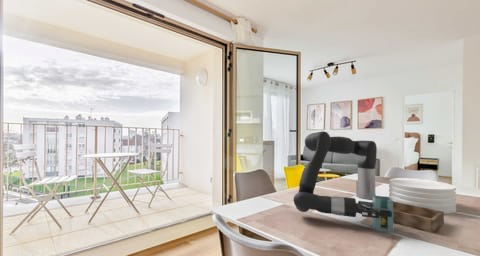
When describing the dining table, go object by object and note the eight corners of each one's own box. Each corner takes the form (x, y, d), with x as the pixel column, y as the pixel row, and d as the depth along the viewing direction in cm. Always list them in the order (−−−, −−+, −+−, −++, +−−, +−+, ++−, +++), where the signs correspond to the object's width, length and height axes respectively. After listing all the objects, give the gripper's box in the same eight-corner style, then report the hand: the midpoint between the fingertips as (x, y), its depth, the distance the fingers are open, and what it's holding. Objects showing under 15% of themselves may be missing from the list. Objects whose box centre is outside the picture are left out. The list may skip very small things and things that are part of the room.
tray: (367, 215, 107) (367, 204, 107) (381, 208, 117) (380, 198, 117) (434, 233, 89) (433, 220, 89) (443, 223, 99) (443, 211, 99)
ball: (376, 224, 93) (376, 216, 95) (380, 226, 95) (379, 218, 96) (385, 224, 91) (384, 216, 93) (388, 226, 93) (387, 218, 94)
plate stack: (471, 215, 109) (471, 190, 109) (403, 211, 114) (403, 187, 115) (434, 199, 136) (434, 179, 136) (381, 196, 142) (381, 177, 142)
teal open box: (375, 230, 91) (375, 199, 92) (372, 224, 97) (372, 195, 97) (393, 232, 89) (393, 200, 90) (389, 226, 95) (389, 196, 95)
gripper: (343, 201, 92) (394, 206, 86) (342, 193, 105) (385, 197, 99) (344, 221, 92) (394, 227, 86) (342, 210, 105) (385, 215, 99)
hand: (389, 211), depth 92 cm, fingers open, 6 cm apart
